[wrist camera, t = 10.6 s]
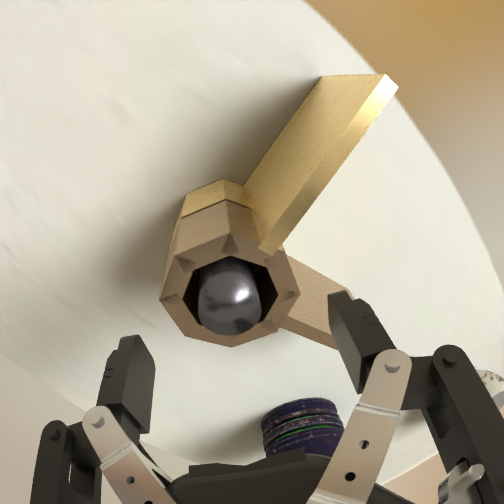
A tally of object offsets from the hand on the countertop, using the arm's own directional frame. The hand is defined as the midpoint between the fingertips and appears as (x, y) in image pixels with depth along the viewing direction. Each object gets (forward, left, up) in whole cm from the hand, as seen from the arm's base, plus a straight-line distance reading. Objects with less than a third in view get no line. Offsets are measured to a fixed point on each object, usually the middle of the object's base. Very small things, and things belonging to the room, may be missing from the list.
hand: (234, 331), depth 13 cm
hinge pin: (0, 0, -10) cm, 10 cm away
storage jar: (+18, -21, -10) cm, 30 cm away
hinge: (+4, +4, -10) cm, 12 cm away
